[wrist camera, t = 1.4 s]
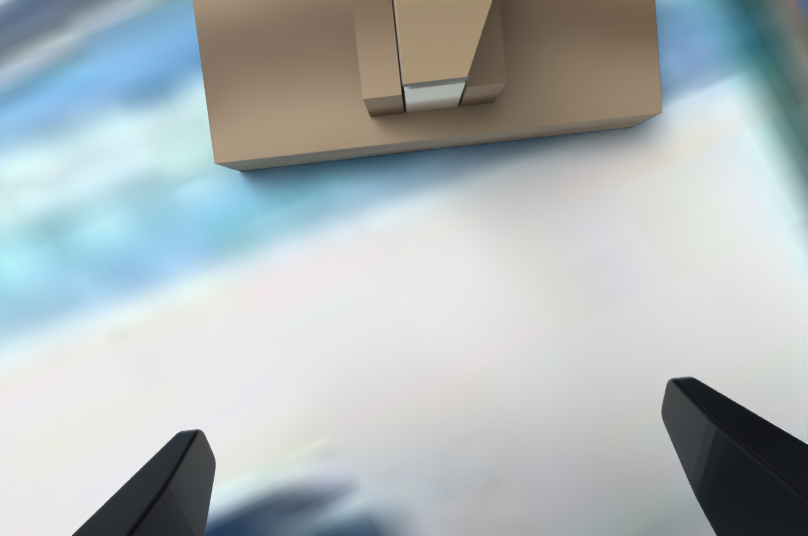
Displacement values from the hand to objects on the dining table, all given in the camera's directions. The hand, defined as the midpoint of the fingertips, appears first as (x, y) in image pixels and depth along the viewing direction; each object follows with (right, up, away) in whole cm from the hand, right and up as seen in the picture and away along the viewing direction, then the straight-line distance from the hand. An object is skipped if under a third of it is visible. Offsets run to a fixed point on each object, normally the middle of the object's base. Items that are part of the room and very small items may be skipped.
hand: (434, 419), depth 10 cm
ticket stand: (0, +11, +10) cm, 15 cm away
